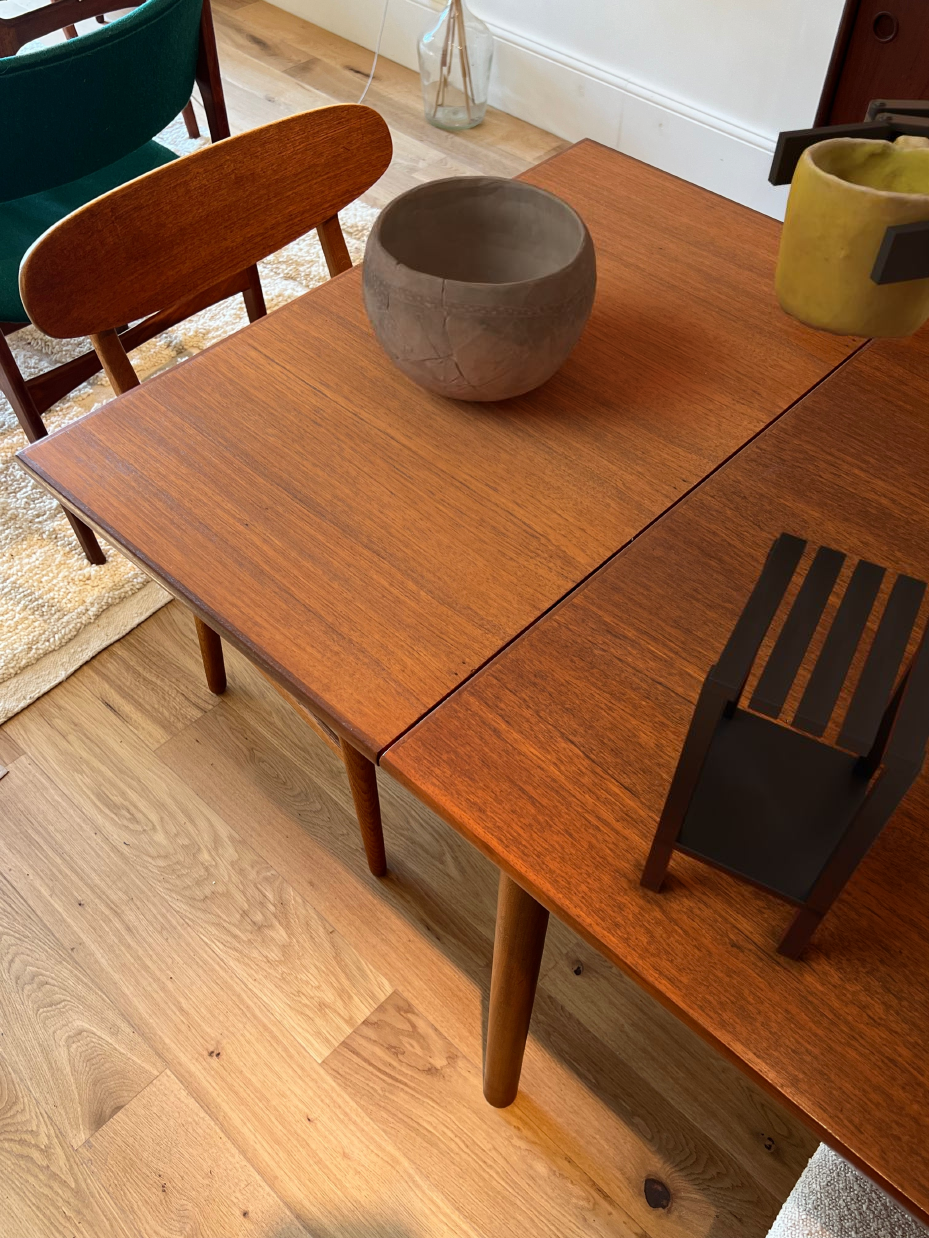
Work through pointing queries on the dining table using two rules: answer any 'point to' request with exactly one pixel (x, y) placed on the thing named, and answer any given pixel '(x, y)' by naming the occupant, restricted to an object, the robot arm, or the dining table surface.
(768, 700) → the rack
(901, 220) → the mug
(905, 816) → the dining table surface
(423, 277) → the bowl
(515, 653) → the dining table surface
